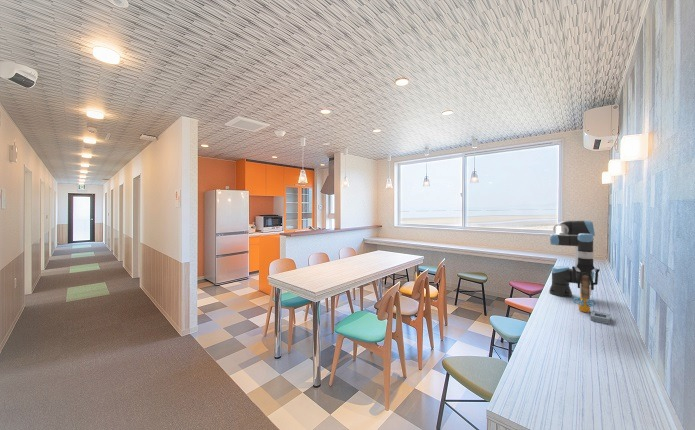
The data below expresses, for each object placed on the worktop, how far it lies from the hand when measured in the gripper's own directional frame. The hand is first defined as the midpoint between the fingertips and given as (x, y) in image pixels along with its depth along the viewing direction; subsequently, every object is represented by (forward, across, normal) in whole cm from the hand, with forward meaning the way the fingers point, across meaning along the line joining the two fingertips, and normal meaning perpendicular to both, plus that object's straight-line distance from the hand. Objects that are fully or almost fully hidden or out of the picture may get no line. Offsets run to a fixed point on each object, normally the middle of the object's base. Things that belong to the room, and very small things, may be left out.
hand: (585, 294), depth 175 cm
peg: (+3, 0, 0) cm, 3 cm away
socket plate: (+18, +6, +12) cm, 23 cm away
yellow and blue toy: (+19, -3, +24) cm, 30 cm away
